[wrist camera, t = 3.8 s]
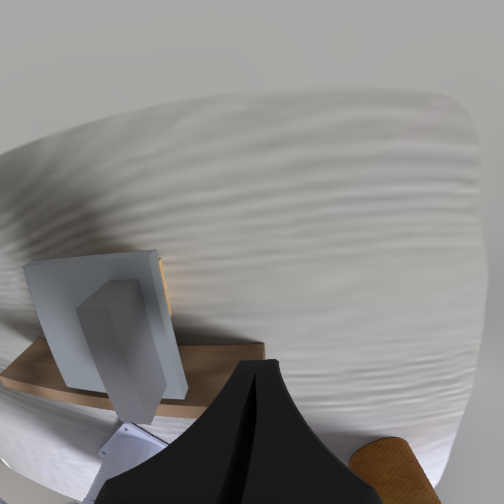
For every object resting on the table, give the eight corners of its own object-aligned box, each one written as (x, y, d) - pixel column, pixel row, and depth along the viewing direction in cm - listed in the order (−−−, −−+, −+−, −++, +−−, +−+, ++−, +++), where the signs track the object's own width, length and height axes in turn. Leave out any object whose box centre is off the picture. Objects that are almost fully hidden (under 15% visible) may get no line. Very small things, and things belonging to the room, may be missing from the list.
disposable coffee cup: (340, 488, 27) (351, 577, 15) (323, 445, 24) (335, 560, 13) (422, 461, 25) (451, 545, 14) (423, 412, 23) (468, 516, 11)
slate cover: (156, 249, 14) (118, 282, 10) (188, 387, 16) (170, 439, 12) (33, 260, 15) (-14, 287, 11) (74, 377, 17) (44, 416, 13)
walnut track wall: (264, 343, 21) (260, 406, 15) (265, 355, 21) (261, 418, 15) (38, 338, 23) (-2, 375, 17) (41, 347, 23) (3, 385, 17)
